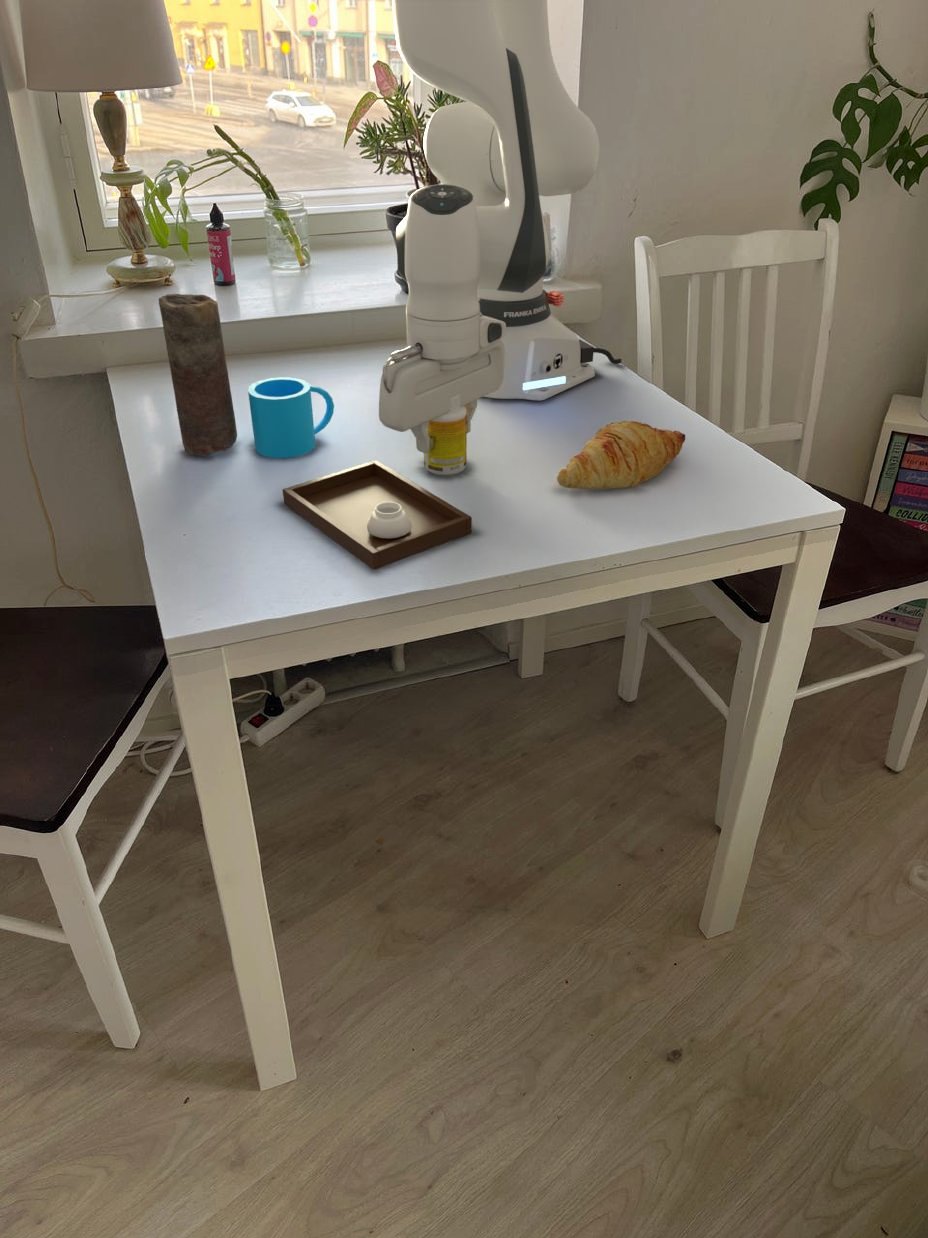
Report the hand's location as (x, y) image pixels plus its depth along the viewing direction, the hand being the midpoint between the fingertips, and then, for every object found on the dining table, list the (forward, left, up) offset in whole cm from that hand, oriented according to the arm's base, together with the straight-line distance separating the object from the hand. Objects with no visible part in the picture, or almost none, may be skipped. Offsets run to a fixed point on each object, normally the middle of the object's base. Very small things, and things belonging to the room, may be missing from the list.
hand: (444, 441), depth 124 cm
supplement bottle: (0, 0, -4) cm, 4 cm away
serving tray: (+15, +6, -4) cm, 16 cm away
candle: (+21, -25, -4) cm, 33 cm away
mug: (+11, -19, -4) cm, 22 cm away
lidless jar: (+16, +11, -3) cm, 19 cm away
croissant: (-17, +15, -4) cm, 23 cm away
